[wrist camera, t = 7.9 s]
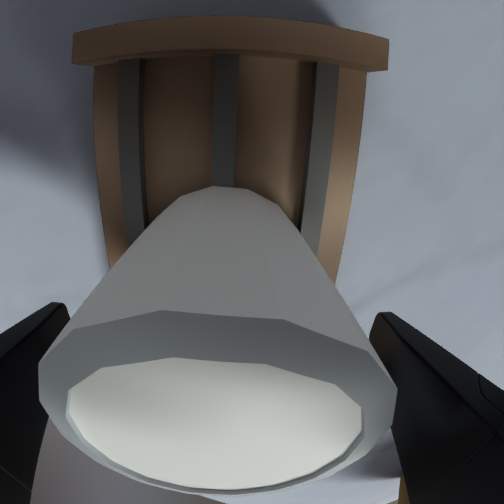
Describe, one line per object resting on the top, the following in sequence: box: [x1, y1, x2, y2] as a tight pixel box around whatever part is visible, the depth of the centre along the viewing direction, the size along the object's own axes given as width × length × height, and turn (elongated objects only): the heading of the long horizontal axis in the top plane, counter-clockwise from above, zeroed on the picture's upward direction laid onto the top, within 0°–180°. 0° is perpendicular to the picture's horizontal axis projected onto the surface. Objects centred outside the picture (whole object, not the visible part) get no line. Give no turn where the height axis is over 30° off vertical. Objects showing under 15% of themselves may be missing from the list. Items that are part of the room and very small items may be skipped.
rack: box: [72, 16, 389, 285], centre depth 11 cm, size 16×9×3 cm, turn 177°
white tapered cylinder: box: [38, 186, 397, 496], centre depth 8 cm, size 7×7×7 cm
